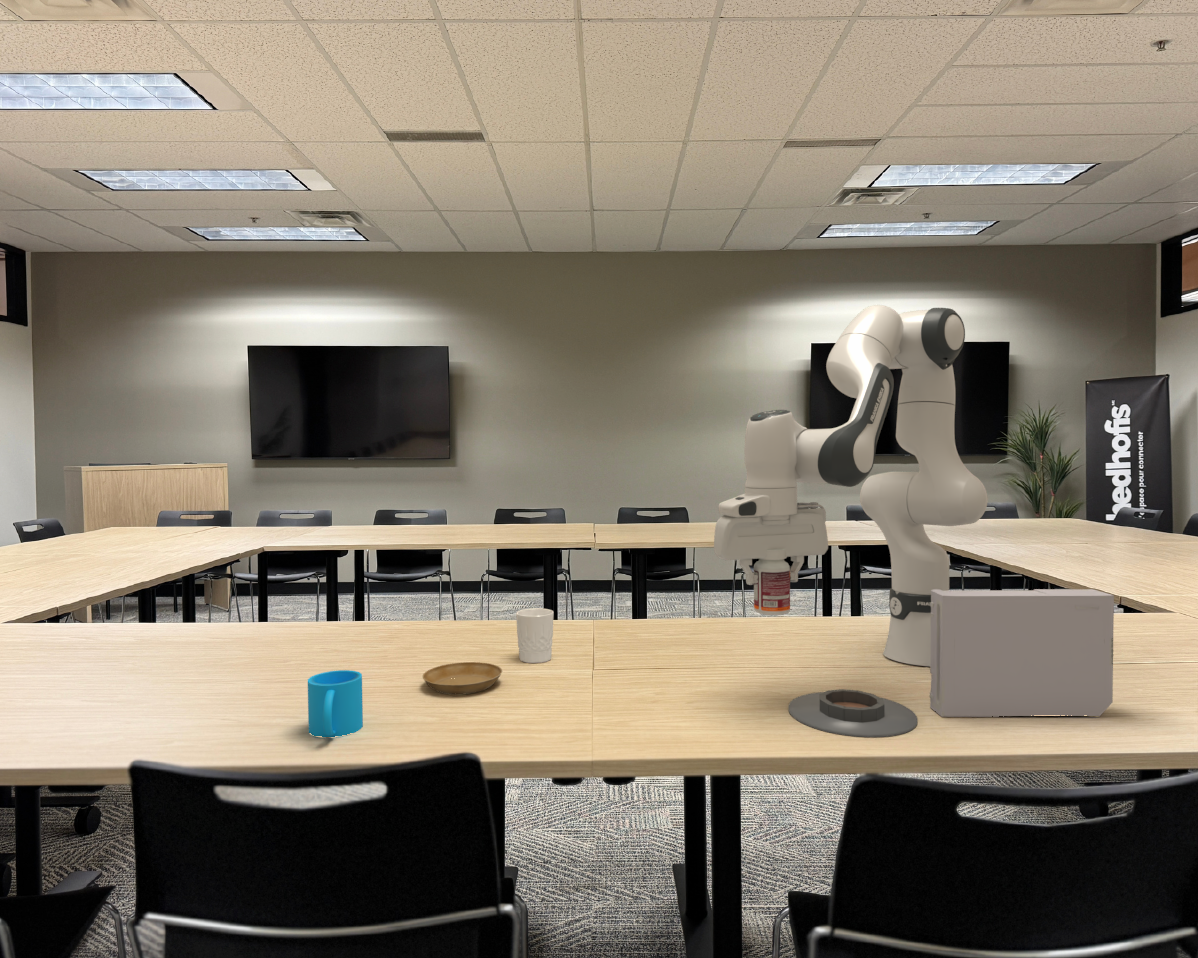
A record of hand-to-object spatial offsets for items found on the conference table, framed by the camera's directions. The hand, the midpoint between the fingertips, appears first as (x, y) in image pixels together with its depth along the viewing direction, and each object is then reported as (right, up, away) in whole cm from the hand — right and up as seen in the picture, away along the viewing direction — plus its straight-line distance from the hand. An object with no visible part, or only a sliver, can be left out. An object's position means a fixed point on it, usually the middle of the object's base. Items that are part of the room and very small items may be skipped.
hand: (772, 582), depth 128 cm
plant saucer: (-56, -21, +10) cm, 61 cm away
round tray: (+11, -21, -7) cm, 25 cm away
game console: (+39, -21, -6) cm, 45 cm away
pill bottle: (0, -5, 0) cm, 5 cm away
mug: (-72, -22, -13) cm, 76 cm away
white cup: (-44, -20, +28) cm, 56 cm away
